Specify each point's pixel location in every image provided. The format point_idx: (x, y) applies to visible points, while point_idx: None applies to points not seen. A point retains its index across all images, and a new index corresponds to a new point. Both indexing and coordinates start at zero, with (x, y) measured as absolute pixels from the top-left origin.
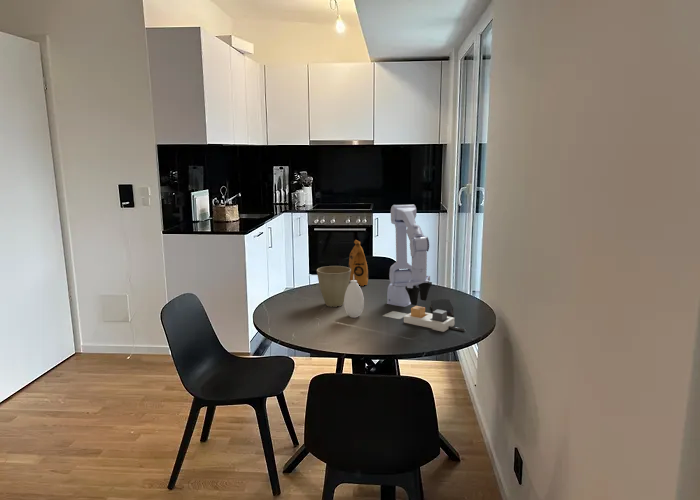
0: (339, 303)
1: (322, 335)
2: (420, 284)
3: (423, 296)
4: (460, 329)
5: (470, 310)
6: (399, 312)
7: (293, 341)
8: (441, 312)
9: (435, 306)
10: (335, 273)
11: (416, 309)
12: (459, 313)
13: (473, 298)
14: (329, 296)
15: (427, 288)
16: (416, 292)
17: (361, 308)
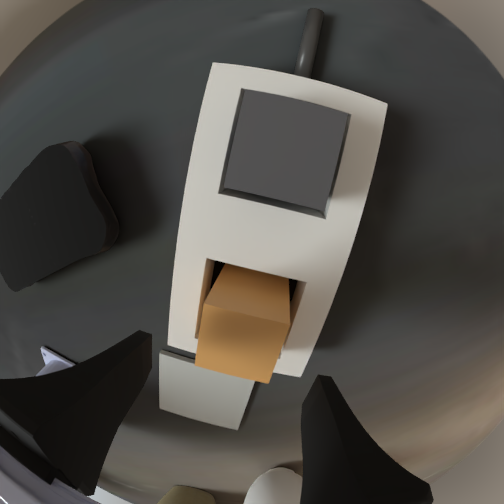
0: (201, 496)
1: (436, 455)
2: (90, 475)
3: (136, 371)
4: (320, 26)
5: (10, 118)
6: (162, 389)
7: (460, 460)
8: (312, 125)
9: (51, 255)
10: None
11: (280, 349)
12: (41, 137)
13: None
14: None
15: (83, 405)
16: (409, 473)
17: (289, 488)
